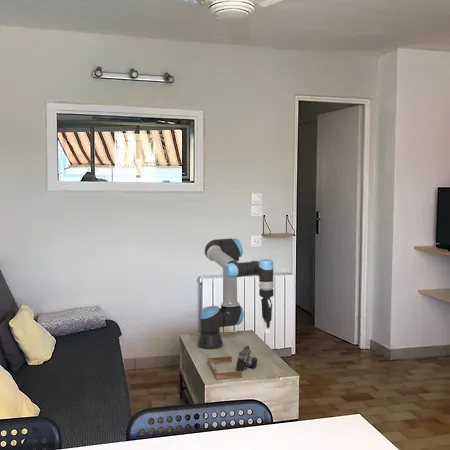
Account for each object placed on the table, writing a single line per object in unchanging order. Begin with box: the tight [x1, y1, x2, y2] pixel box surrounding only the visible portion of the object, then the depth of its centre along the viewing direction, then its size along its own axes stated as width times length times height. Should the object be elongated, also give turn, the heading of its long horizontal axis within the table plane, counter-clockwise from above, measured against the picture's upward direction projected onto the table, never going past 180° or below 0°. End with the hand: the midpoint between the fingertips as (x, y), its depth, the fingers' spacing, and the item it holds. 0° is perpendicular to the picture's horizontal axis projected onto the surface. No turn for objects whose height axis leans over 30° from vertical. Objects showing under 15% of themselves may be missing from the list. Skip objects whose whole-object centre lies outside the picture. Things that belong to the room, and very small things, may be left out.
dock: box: [207, 356, 243, 381], centre depth 273 cm, size 25×13×4 cm, turn 12°
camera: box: [235, 345, 258, 373], centre depth 276 cm, size 18×9×10 cm, turn 167°
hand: (266, 332), depth 276 cm, fingers open, 2 cm apart
